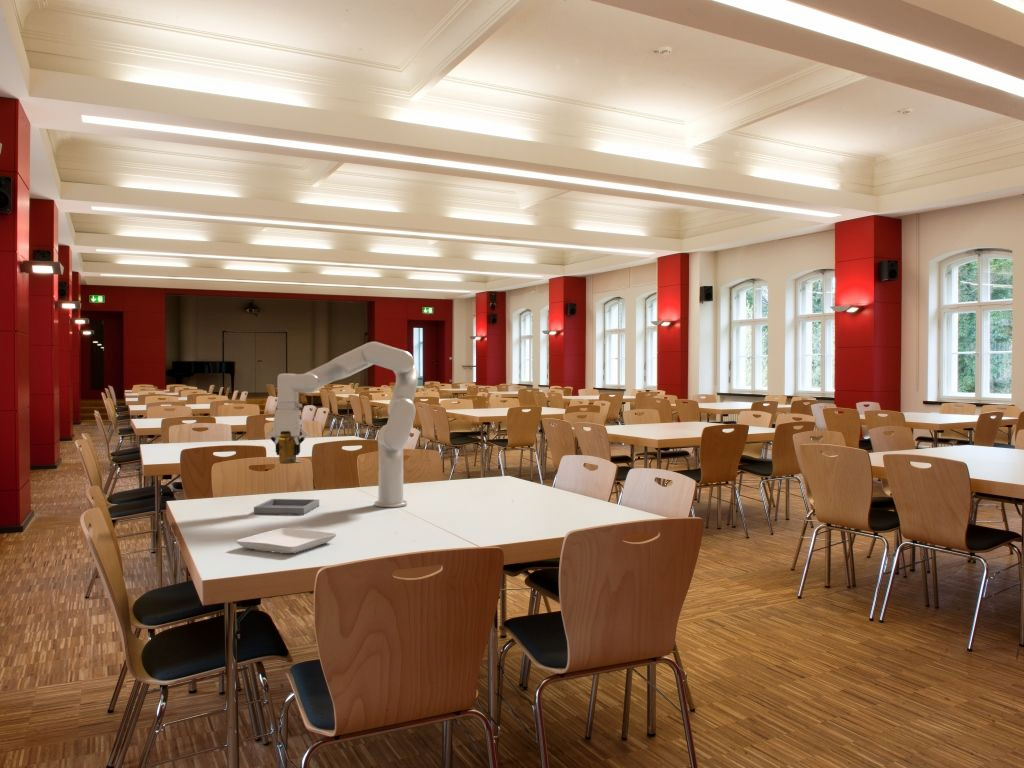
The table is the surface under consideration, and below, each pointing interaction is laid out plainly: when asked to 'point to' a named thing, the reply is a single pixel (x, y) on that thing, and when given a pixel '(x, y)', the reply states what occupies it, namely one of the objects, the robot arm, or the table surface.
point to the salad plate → (286, 540)
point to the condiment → (286, 448)
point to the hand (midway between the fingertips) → (287, 454)
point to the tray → (286, 506)
